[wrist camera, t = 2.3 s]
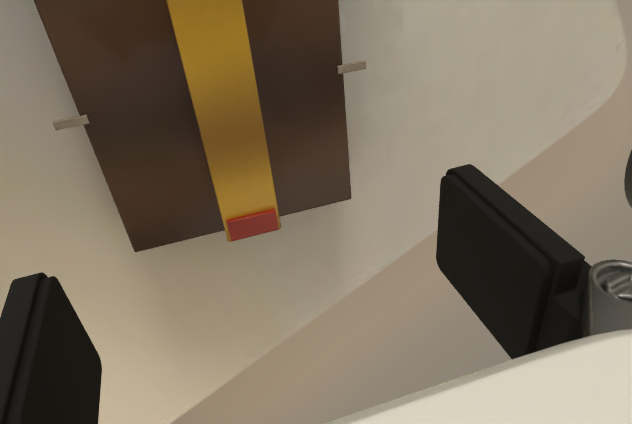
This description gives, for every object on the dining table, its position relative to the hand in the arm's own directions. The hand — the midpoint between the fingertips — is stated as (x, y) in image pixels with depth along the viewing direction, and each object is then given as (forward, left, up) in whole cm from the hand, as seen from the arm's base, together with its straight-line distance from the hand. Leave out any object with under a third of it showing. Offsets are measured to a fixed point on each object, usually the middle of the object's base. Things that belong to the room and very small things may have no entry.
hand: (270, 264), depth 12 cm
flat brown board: (0, 0, -16) cm, 16 cm away
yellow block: (0, 0, -13) cm, 13 cm away
